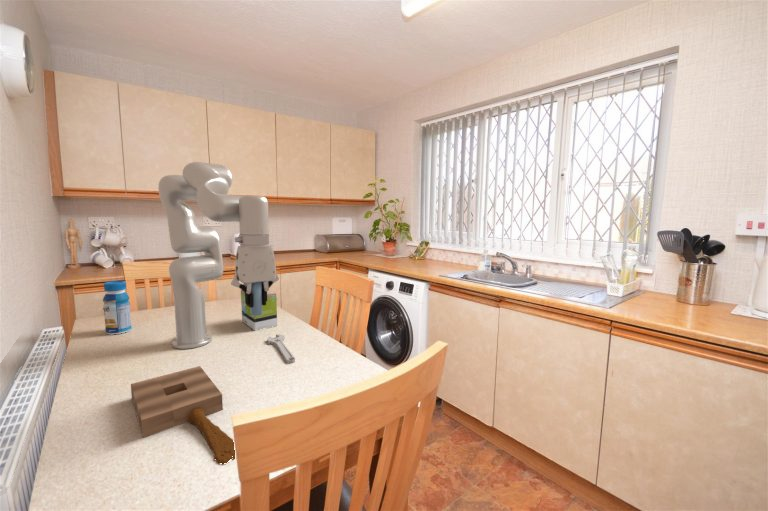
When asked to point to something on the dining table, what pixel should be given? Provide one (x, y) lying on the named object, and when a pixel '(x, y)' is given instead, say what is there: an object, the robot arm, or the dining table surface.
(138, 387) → the hole block
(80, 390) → the dining table surface
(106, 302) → the blue-capped supplement jar
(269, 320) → the tea box
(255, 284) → the peg
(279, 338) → the adjustable wrench
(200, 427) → the primitive tool
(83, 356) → the dining table surface
